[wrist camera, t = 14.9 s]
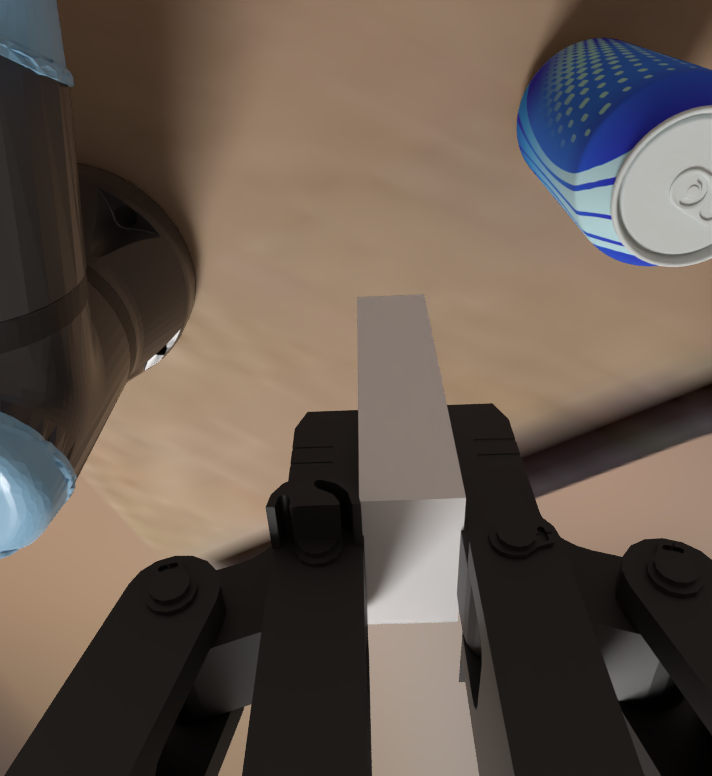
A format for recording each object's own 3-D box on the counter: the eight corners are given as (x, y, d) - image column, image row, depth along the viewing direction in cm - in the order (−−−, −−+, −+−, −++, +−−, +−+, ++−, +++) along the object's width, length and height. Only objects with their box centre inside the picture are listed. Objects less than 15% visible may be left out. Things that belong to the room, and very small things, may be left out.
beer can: (530, 201, 43) (609, 312, 30) (496, 71, 39) (571, 132, 25) (660, 152, 41) (807, 246, 28) (640, 9, 37) (802, 41, 24)
